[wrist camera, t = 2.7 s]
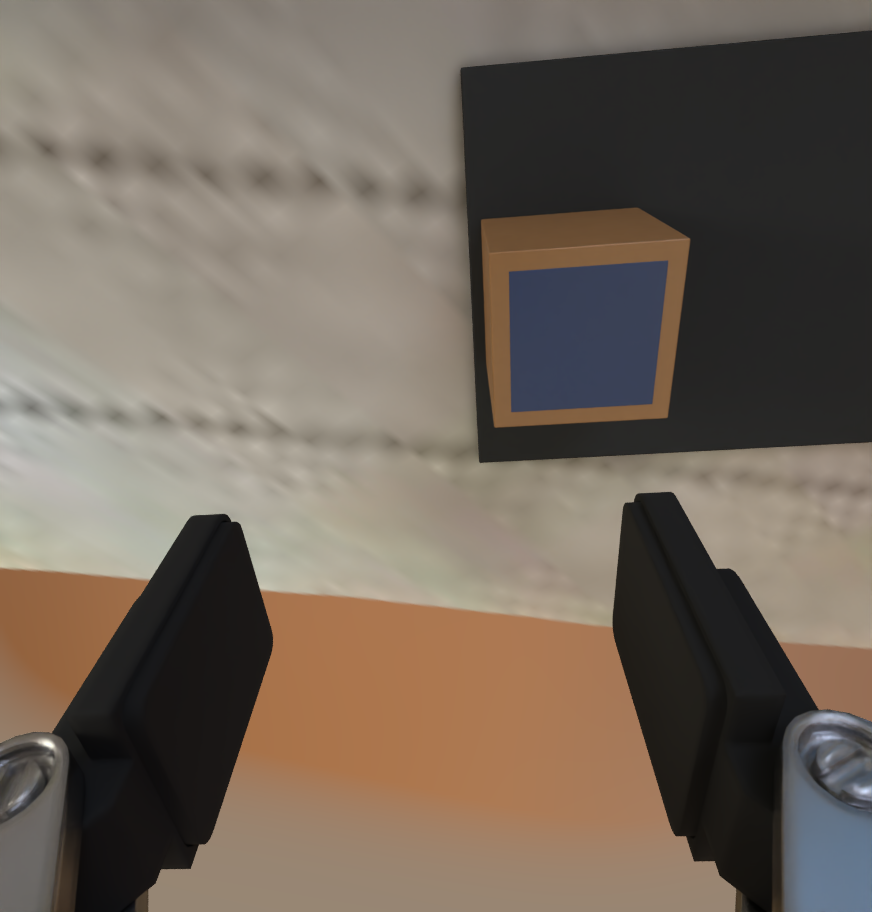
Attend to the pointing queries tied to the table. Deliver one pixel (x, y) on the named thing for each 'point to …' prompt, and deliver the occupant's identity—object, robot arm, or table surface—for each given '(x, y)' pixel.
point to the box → (581, 316)
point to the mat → (702, 227)
